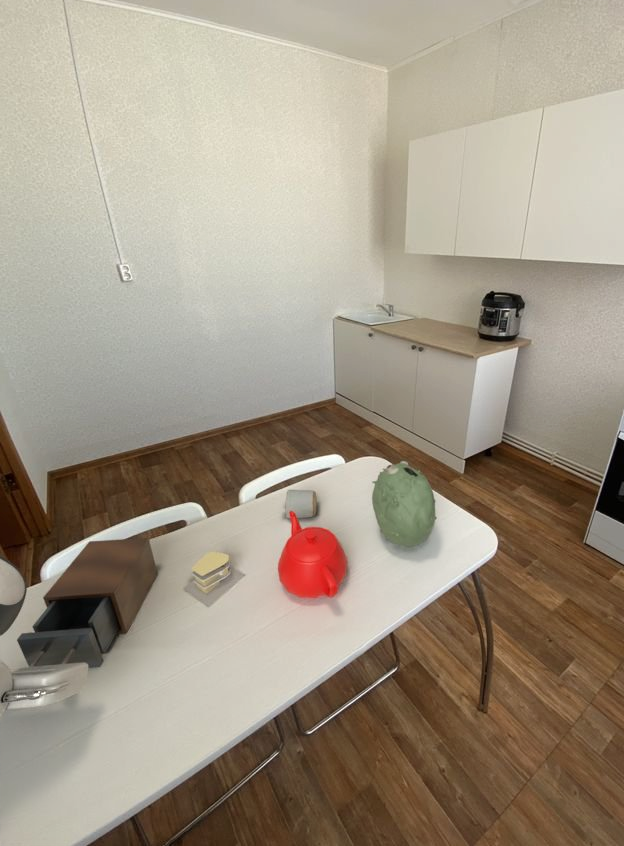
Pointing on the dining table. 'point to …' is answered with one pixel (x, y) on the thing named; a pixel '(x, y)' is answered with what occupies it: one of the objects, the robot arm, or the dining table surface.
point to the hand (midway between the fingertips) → (42, 673)
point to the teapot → (311, 562)
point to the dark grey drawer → (71, 632)
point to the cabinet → (110, 576)
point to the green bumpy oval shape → (404, 505)
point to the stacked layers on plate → (212, 578)
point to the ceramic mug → (301, 503)
